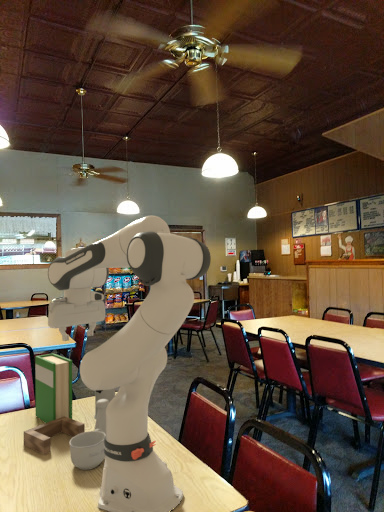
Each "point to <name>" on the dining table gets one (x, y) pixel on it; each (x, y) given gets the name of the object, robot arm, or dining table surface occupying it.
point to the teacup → (87, 449)
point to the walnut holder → (51, 433)
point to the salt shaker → (101, 415)
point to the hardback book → (53, 387)
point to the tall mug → (103, 397)
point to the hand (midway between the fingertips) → (78, 338)
